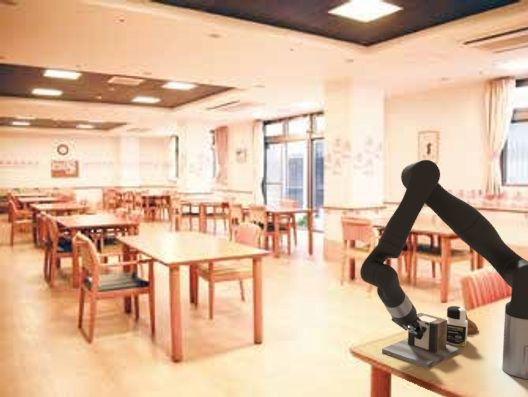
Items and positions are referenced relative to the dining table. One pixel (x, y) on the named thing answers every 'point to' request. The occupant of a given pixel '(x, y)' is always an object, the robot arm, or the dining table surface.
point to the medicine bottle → (456, 326)
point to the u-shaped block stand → (421, 355)
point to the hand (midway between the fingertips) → (419, 336)
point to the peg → (425, 339)
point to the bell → (471, 326)
